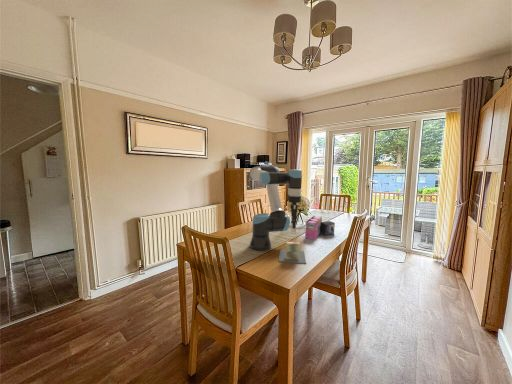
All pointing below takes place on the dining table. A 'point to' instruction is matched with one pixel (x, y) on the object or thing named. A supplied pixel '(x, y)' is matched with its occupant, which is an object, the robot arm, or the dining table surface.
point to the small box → (327, 228)
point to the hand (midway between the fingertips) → (293, 230)
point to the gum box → (313, 227)
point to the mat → (283, 259)
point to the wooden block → (292, 250)
